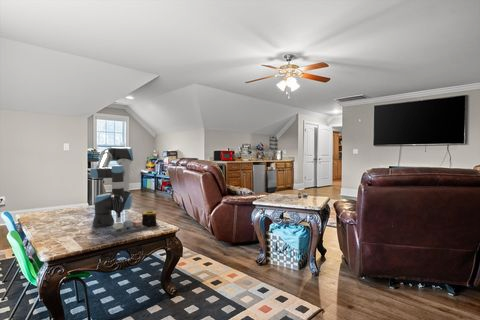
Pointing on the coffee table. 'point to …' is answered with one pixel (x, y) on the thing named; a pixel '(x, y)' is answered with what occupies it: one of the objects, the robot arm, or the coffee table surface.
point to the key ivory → (118, 226)
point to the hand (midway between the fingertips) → (118, 221)
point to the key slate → (128, 224)
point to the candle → (149, 218)
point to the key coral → (137, 223)
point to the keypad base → (127, 230)
